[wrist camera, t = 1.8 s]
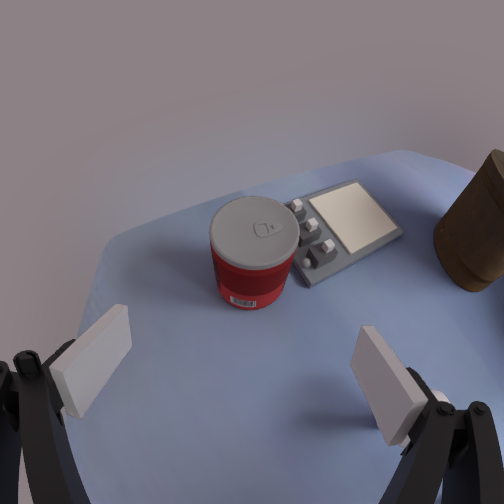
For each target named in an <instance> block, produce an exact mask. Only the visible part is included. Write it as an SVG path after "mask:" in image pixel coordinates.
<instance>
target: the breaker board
mask: <svg viewBox="0 0 504 504" xmlns="http://www.w3.org/2000/svg"><path fill="white" fill-rule="evenodd" d="M284 205H285V206H286V207H287V208H288V209H289V210H290V211H291V212H292V213H293V214H294V215H295V217H296V219H297V221H298V224H299V229H300V235H299V242H298V246H297V249H296V253H295V255H294V258H293V261H292V263H293V264H294V266H295V267H296V269H297V270H298V272H299V273H300V275H301V276H302V278H303V279H304V281H305V282H306V284H307V285H308V287H309V288H311V287H313V286H315V285H317V284H318V283H320V282H322V281H324V280H326V279H328V278H330V277H331V276H333V275H335V274H337V273H339V272H341V271H342V270H344V269H346V268H348V267H349V266H351V265H353V264H355V263H357V262H358V261H360V260H362V259H364V258H365V257H367V256H369V255H370V254H372V253H374V252H376V251H377V250H379V249H381V248H382V247H384V246H386V245H387V244H389V243H391V242H392V241H394V240H396V239H397V238H399V237H401V235H402V234H403V233H404V231H403V230H402V229H401V228H400V226H399V225H398V224H397V223H396V222H395V221H394V219H393V218H392V217H391V216H390V215H389V214H388V212H387V211H386V210H385V209H384V208H383V207H382V206H381V204H380V203H379V202H378V201H377V200H376V199H375V198H374V197H373V196H372V194H371V193H370V192H369V191H368V190H367V189H366V188H365V187H364V186H363V185H362V184H361V183H360V182H359V181H358V180H357V179H354V180H351V181H348V182H345V183H342V184H339V185H337V186H334V187H331V188H328V189H325V190H322V191H320V192H317V193H314V194H311V195H308V196H306V197H303V198H300V199H299V198H298V199H296V200H293V201H292V202H289V203H286V204H284Z"/></svg>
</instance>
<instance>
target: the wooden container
mask: <svg viewBox="0 0 504 504" xmlns="http://www.w3.org/2000/svg"><path fill="white" fill-rule="evenodd" d="M434 244H435V248H436V251H437V254H438V257H439V259H440V261H441V263H442V265H443V267H444V268H445V270H446V272H447V273H448V274H449V276H450V277H451V278H452V279H453V280H454V281H455V282H456V283H457V284H458V285H460V286H461V287H462V288H464V289H466V290H468V291H471V292H479V291H481V290H483V289H485V288H486V287H487V286H489V285H490V284H491V283H493V282H494V281H495V280H497V279H498V278H499V277H500V276H502V275H503V274H504V152H502V151H500V150H496V149H495V150H492V152H491V153H490V154H489V156H488V157H487V159H486V160H485V162H484V163H483V165H482V167H481V168H480V169H479V171H478V172H477V173H476V175H475V176H474V177H473V179H472V180H471V181H470V183H469V184H468V185H467V187H466V188H465V189H464V190H463V192H462V193H461V194H460V195H459V197H458V198H457V199H456V201H455V202H454V203H453V205H452V206H451V207H450V208H449V210H448V211H447V213H446V214H445V215H444V216H443V218H442V219H441V220H440V221H439V223H438V224H437V226H436V228H435V231H434Z"/></svg>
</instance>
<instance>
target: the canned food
mask: <svg viewBox="0 0 504 504" xmlns="http://www.w3.org/2000/svg"><path fill="white" fill-rule="evenodd" d="M209 234H210V245H211V252H212V258H213V264H214V270H215V275H216V281H217V286H218V289H219V292H220V293H221V295H222V297H223V298H224V299H225V300H226V301H227V302H229V303H230V304H231V305H233V306H235V307H237V308H240V309H244V310H256V309H260V308H264V307H266V306H268V305H269V304H271V303H272V302H274V301H275V300H276V299H277V298H278V297H279V295H280V294H281V292H282V290H283V287H284V284H285V281H286V279H287V276H288V273H289V270H290V267H291V264H292V261H293V258H294V255H295V253H296V249H297V246H298V242H299V235H300V229H299V224H298V221H297V219H296V217H295V215H294V214H293V213H292V212H291V211H290V210H289V209H288V208H287V207H286V206H285V205H283V204H281V203H279V202H278V201H275V200H273V199H270V198H265V197H258V196H250V197H243V198H238V199H235V200H233V201H230V202H229V203H227V204H225V205H224V206H222V207H221V208H220V209H219V210H218V211H217V212H216V214H215V215H214V217H213V219H212V221H211V224H210V232H209Z"/></svg>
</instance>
